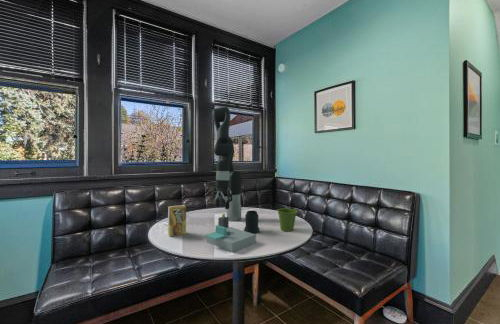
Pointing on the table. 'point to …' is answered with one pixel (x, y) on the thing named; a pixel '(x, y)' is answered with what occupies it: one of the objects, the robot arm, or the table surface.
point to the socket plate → (234, 240)
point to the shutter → (218, 233)
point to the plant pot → (287, 219)
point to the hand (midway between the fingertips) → (222, 207)
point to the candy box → (176, 220)
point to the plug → (223, 221)
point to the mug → (251, 222)
